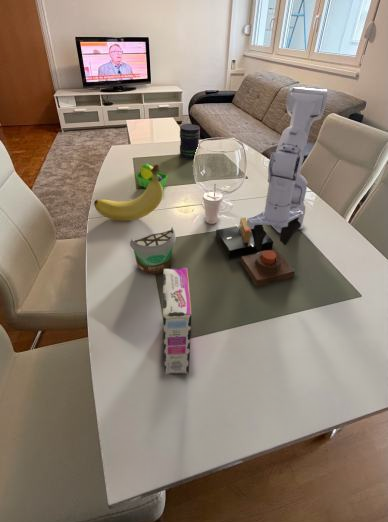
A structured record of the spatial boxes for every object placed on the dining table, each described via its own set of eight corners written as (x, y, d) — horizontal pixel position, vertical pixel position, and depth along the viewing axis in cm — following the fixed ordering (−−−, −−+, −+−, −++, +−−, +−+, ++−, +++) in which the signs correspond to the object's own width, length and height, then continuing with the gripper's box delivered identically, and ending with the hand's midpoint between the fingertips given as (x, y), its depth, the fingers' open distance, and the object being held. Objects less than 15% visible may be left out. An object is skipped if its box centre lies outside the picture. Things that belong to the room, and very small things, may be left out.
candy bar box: (190, 374, 56) (192, 315, 48) (164, 376, 56) (161, 316, 48) (187, 322, 66) (187, 266, 58) (164, 323, 66) (162, 267, 58)
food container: (139, 284, 75) (136, 253, 71) (132, 268, 80) (129, 238, 75) (183, 268, 81) (183, 239, 76) (174, 254, 85) (173, 226, 81)
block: (275, 255, 86) (277, 244, 84) (293, 277, 79) (296, 265, 77) (240, 262, 83) (242, 251, 81) (256, 286, 75) (258, 275, 74)
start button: (270, 254, 81) (271, 249, 80) (277, 262, 78) (278, 257, 77) (258, 256, 80) (259, 251, 79) (265, 265, 77) (266, 260, 76)
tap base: (254, 228, 97) (256, 220, 96) (273, 250, 88) (274, 242, 86) (215, 236, 93) (215, 228, 92) (229, 260, 84) (230, 251, 82)
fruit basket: (169, 186, 121) (168, 161, 116) (155, 195, 115) (154, 169, 110) (147, 179, 127) (146, 154, 121) (133, 187, 120) (131, 161, 115)
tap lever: (239, 228, 92) (240, 216, 90) (244, 228, 92) (245, 216, 90) (243, 242, 86) (245, 230, 84) (249, 242, 86) (251, 230, 84)
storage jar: (177, 158, 148) (177, 129, 141) (181, 151, 156) (181, 123, 149) (197, 160, 146) (198, 130, 139) (200, 152, 155) (201, 124, 148)
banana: (94, 223, 98) (85, 168, 89) (98, 213, 103) (90, 160, 94) (163, 223, 99) (161, 168, 89) (164, 213, 104) (162, 161, 95)
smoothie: (219, 227, 97) (222, 190, 91) (200, 224, 99) (201, 187, 92) (221, 216, 103) (224, 180, 96) (203, 214, 104) (205, 178, 98)
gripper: (259, 213, 65) (252, 261, 71) (315, 204, 69) (303, 249, 76) (245, 198, 71) (239, 243, 77) (297, 190, 75) (288, 233, 81)
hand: (270, 245), depth 77 cm, fingers open, 7 cm apart
